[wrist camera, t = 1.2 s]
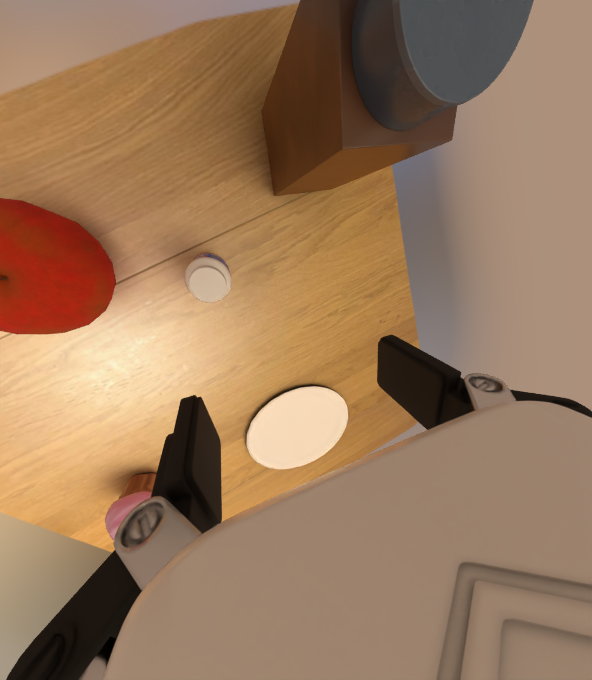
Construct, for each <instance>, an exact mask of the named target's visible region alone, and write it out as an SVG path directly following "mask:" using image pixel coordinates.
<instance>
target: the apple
mask: <svg viewBox="0 0 592 680" xmlns="http://www.w3.org/2000/svg"><path fill="white" fill-rule="evenodd" d="M115 284H116V279H115V274H114V270H113V265H112V262H111V260H110V259H109V257H108V255H107V254H106V252H105V251H104V249H103V247H102V246H101V244H100V243H99V242H98V241H97V240H96V239H95V238H94V237H93V236H92V235H91V234H89V233H88V232H87V231H86V230H85V229H84V228H83V227H82V226H80V225H79V224H78V223H76V222H74V221H72V220H69V219H67V218H65V217H62V216H60V215H58V214H55V213H53V212H51V211H48V210H46V209H43V208H40V207H38V206H35V205H33V204H30V203H27V202H25V201H20V200H12V199H3V198H0V331H4V332H9V333H14V334H55V333H65V332H68V331H71V330H74V329H77V328H80V327H83V326H86V325H89V324H90V323H91V322H93V321H94V320H95V319H96V318H97V317H99V316H100V315H101V314H102V313H103V312H104V311H106V309H107V307H108V305H109V303H110V301H111V299H112V295H113V292H114V288H115Z"/></svg>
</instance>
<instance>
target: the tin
mask: <svg viewBox="0 0 592 680" xmlns="http://www.w3.org/2000/svg"><path fill="white" fill-rule="evenodd" d="M532 4H533V0H357V2H356V6H355V11H354V16H353V24H352V38H351V50H352V63H353V70H354V75H355V80H356V84H357V87H358V90H359V93H360V95H361V98H362V100H363V102H364V104H365V106H366V108H367V109H368V111H369V112H370V113H371V115H372V116H373V117H374V118H375V119H376V120H377V121H378V122H379V123H380V124H382V125H383V126H385V127H387V128H389V129H392V130H396V131H404V130H410V129H412V128H415V127H417V126H419V125H420V124H422V123H424V122H426V121H428V120H430V119H431V118H433V117H435V116H437V115H439V114H441V113H442V112H444V111H446V110H448V109H450V108H451V107H453V106H457V105H460V104H463V103H465V102H467V101H469V100H471V99H472V98H474V97H476V96H478V95H479V94H480V93H482V92H483V91H484V90H485V89H486V88H488V87H489V86H490V84H491V83H492V82H493V81H494V80H495V79H496V78H497V77H498V75H499V74H500V73H501V71H502V70H503V69H504V67H505V66H506V64H507V62H508V61H509V59H510V58H511V56H512V54H513V52H514V50H515V48H516V46H517V44H518V42H519V40H520V38H521V36H522V33H523V30H524V28H525V25H526V23H527V20H528V17H529V14H530V11H531V7H532Z"/></svg>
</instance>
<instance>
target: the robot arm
mask: <svg viewBox="0 0 592 680" xmlns="http://www.w3.org/2000/svg"><path fill="white" fill-rule="evenodd" d="M460 376H461V372H460V371H458V370H456V369H454V368H453V367H451V366H449V365H447V364H445V363H444V362H442V361H440V360H438V359H436V358H434V357H433V356H431V355H429V354H427V353H425V352H423V351H421V350H420V349H418V348H416V347H414V346H412V345H411V344H409V343H407V342H405V341H403V340H401V339H400V338H398V337H396V336H394V335H388V336H385V337H382V338H381V339H380V341H379V342H378V370H377V382H378V385H379V386H380V387H381V388H382V389H383V390H384V391H385V392H386V393H387V394H389V395H390V396H391V397H392V398H393V399H394V400H395V401H396V402H397V403H398V404H400V405H401V406H402V407H403V408H404V409H405V410H406V411H407V412H408V413H409V414H411V415H412V416H413V417H414V418H415V419H416V420H417V421H418V422H419V423H420V424H422V425H423V426H424V427H425V428H426V429H427V431H424V432H422V433H420V434H417V435H415V436H413V437H410V438H408V439H405V440H403V441H401V442H399V443H396V444H394V445H392V446H389V447H387V448H385V449H383V450H380V451H378V452H376V453H373V454H371V455H368V456H366V457H364V458H362V459H359V460H357V461H355V462H352V463H350V464H348V465H345V466H343V467H341V468H339V469H336V470H334V471H332V472H329V473H327V474H325V475H323V476H320V477H318V478H316V479H314V480H311V481H309V482H307V483H304V484H302V485H300V486H298V487H295V488H293V489H291V490H289V491H286V492H284V493H282V494H280V495H277V496H275V497H273V498H271V499H269V500H267V501H264V502H262V503H260V504H258V505H256V506H254V507H251V508H249V509H247V510H245V511H243V512H241V513H239V514H237V515H235V516H233V517H231V518H229V519H227V520H225V521H223V522H221V521H222V502H221V443H220V438H219V436H218V433H217V431H216V429H215V427H214V424H213V422H212V420H211V418H210V415H209V413H208V411H207V409H206V407H205V404H204V402H203V400H202V398H201V397H198V398H197V397H196V395H193V396H190V397H187V398H184V399H181V402H180V406H179V411H178V415H177V419H176V424H175V428H174V433H172V434H169V435H168V436H167V437H166V440H165V444H164V448H163V451H162V455H161V459H160V463H159V467H158V471H157V475H156V478H155V482H154V486H153V490H152V494H151V498H148V499H146V500H144V501H143V502H141V503H139V504H138V505H137V506H136V507H134V508H133V509H132V510H131V511H130V512H129V513H128V514H127V515H126V517H125V518H124V519H123V521H122V522H121V524H120V525H119V527H118V529H117V532H116V534H115V538H114V547H115V550H114V551H113V553H112V554H111V555H110V556H109V557H108V558H107V559H106V560H105V562H104V563H103V564H102V565H101V566H100V567H99V568H98V569H97V570H96V572H95V573H94V574H93V575H92V576H91V577H90V578H89V579H88V580H87V581H86V583H85V584H84V585H83V586H82V587H81V588H80V589H79V590H78V592H77V593H76V594H75V595H74V596H73V597H72V598H71V599H70V601H69V602H68V603H67V604H66V605H65V606H64V607H63V608H62V610H60V612H59V613H58V614H57V615H56V616H55V617H54V618H53V619H52V620H51V622H50V623H49V624H48V625H47V626H46V627H45V628H44V630H42V632H41V633H40V634H39V635H38V636H37V637H36V638H35V639H34V640H33V642H32V643H31V644H30V645H29V647H28V648H27V649H26V650H25V652H24V653H23V654H22V655H21V657H20V658H19V659H18V661H17V663H16V664H15V666H14V667H13V669H12V670H11V672H10V674H9V675H8V677H7V679H6V680H592V411H590V410H589V409H588V408H586V407H585V406H583V405H581V404H579V403H578V402H575V401H573V400H570V399H567V398H561V397H555V396H548V395H542V394H535V393H528V392H521V391H514V390H510V389H509V388H508V387H507V385H506V384H505V383H504V382H503V381H501V380H500V379H498V378H495V377H494V376H490V375H487V374H481V373H474V374H469V375H467V376H466V377H465V378H464V379H462V378H461V377H460ZM217 524H218V525H217Z"/></svg>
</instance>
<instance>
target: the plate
mask: <svg viewBox="0 0 592 680" xmlns="http://www.w3.org/2000/svg"><path fill="white" fill-rule="evenodd" d="M347 420H348V408H347V406H346V403H345V401H344V399H343V398H342V397H341V396H340V395H339V394H338V393H337V392H335V391H333V390H331V389H328V388H325V387H319V386H308V387H299V388H296V389H293V390H290V391H287V392H285V393H283V394H281V395H279V396H278V397H276V398H274V399H272V400H271V401H270V402H269V403H267V404H266V405H265V406H264V407H263V408H262V409H261V410H260V411H259V412H258V413H257V415H256V416H255V417H254V419H253V420H252V422H251V424H250V427H249V429H248V432H247V448H248V451H249V454H250V456H251V457H252V458H253V459H254V460H255V461H256V462H257V463H259V464H261V465H263V466H265V467H269V468H274V469H290V468H295V467H299V466H303V465H305V464H308V463H310V462H312V461H314V460H316V459H317V458H319V457H321V456H322V455H324V454H325V453H326V452H327V451H329V450H330V449H331V448H332V447H333V446H334V445H335V444H336V442H337V441H338V440H339V439H340V437H341V436H342V434H343V432H344V430H345V428H346V424H347Z"/></svg>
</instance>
